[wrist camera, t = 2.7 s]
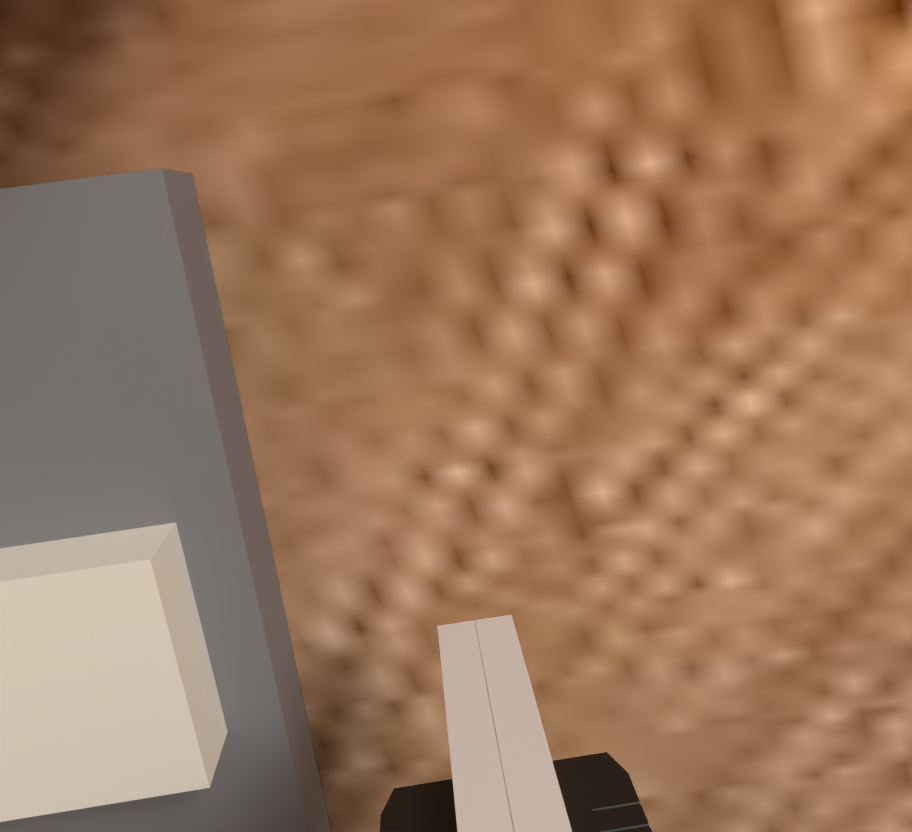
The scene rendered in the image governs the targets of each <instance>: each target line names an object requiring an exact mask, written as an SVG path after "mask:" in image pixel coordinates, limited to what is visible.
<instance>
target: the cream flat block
mask: <svg viewBox="0 0 912 832" xmlns="http://www.w3.org/2000/svg"><path fill="white" fill-rule="evenodd" d="M226 735H227V727H226V723H225V719H224V715H223V711H222V707H221V703H220V699H219V695H218V691H217V687H216V683H215V679H214V675H213V671H212V667H211V663H210V659H209V655H208V650H207V646H206V642H205V638H204V634H203V630H202V626H201V622H200V618H199V614H198V610H197V606H196V602H195V598H194V594H193V590H192V586H191V582H190V577H189V573H188V569H187V565H186V561H185V557H184V553H183V549H182V545H181V541H180V537H179V533H178V529H177V525H176V523H169V524H163V525H156V526H149V527H142V528H136V529H129V530H122V531H115V532H108V533H102V534H95V535H88V536H81V537H75V538H68V539H61V540H54V541H47V542H41V543H34V544H27V545H20V546H14V547H7V548H0V822H3V821H10V820H16V819H22V818H28V817H34V816H40V815H46V814H52V813H59V812H65V811H71V810H77V809H83V808H89V807H95V806H101V805H108V804H114V803H120V802H126V801H132V800H138V799H144V798H150V797H157V796H163V795H169V794H175V793H181V792H187V791H193V790H199V789H206V788H210V785H211V782H212V779H213V776H214V773H215V770H216V767H217V763H218V760H219V757H220V754H221V751H222V748H223V744H224V741H225V738H226Z"/></svg>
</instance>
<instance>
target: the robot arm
mask: <svg viewBox="0 0 912 832" xmlns="http://www.w3.org/2000/svg"><path fill="white" fill-rule="evenodd" d="M438 636H439V646H440V657H441V667H442V677H443V687H444V698H445V708H446V718H447V729H448V739H449V749H450V760H451V770H452V779H450V780H444V781H438V782H432V783H425V784H419V785H413V786H407V787H401V788H394V789H393V791H392V794H391V796H390V798H389V800H388V802H387V804H386V806H385V808H384V810H383V812H382V814H381V820H380V832H652V831H651V828H649V825H648V821H647V818H646V816H645V813H644V811H643V808H642V806H641V805H640V803H639V799H638V796H637V794H636V791H635V789H634V786H633V784H632V781H631V779H630V776H629V774H628V773H627V772H626V771H625V770H624V769H623V768H622V767H621V766H620V765H619V764H618V763H617V762H616V761H615V760H614V759H613V758H612V757H611V756H610V755H609V754H608V753H607V752H605V753H599V754H593V755H587V756H580V757H574V758H568V759H562V760H555V761H552V758H551V754H550V751H549V747H548V744H547V740H546V736H545V733H544V729H543V726H542V722H541V719H540V715H539V711H538V708H537V704H536V701H535V697H534V693H533V690H532V686H531V683H530V679H529V676H528V672H527V668H526V665H525V661H524V658H523V654H522V651H521V647H520V643H519V640H518V636H517V633H516V629H515V626H514V622H513V618H512V615H507V616H500V617H494V618H487V619H480V620H474V621H467V622H461V623H454V624H448V625H441V626H438Z"/></svg>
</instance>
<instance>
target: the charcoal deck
mask: <svg viewBox="0 0 912 832" xmlns="http://www.w3.org/2000/svg"><path fill="white" fill-rule="evenodd" d="M169 523H176V525H177V529H178V533H179V537H180V541H181V545H182V549H183V553H184V557H185V561H186V565H187V569H188V573H189V577H190V582H191V586H192V590H193V594H194V598H195V602H196V606H197V610H198V614H199V618H200V622H201V626H202V630H203V634H204V638H205V642H206V646H207V650H208V655H209V659H210V663H211V667H212V671H213V675H214V679H215V683H216V687H217V691H218V695H219V699H220V703H221V707H222V711H223V715H224V719H225V723H226V727H227V735H226V738H225V741H224V744H223V748H222V751H221V754H220V757H219V760H218V763H217V767H216V770H215V773H214V776H213V779H212V782H211V785H210V788H206V789H199V790H193V791H187V792H181V793H175V794H169V795H163V796H157V797H150V798H144V799H138V800H132V801H126V802H120V803H114V804H108V805H101V806H95V807H89V808H83V809H77V810H71V811H65V812H59V813H52V814H46V815H40V816H34V817H28V818H22V819H16V820H10V821H3V822H0V832H331V829H330V825H329V820H328V815H327V810H326V806H325V801H324V796H323V791H322V787H321V782H320V777H319V773H318V768H317V763H316V758H315V754H314V749H313V744H312V739H311V735H310V730H309V725H308V720H307V716H306V711H305V706H304V702H303V697H302V692H301V687H300V683H299V678H298V673H297V668H296V664H295V659H294V654H293V650H292V645H291V640H290V635H289V631H288V626H287V621H286V616H285V612H284V607H283V602H282V597H281V593H280V588H279V583H278V579H277V574H276V569H275V564H274V560H273V555H272V550H271V545H270V541H269V536H268V531H267V526H266V522H265V517H264V512H263V508H262V503H261V498H260V493H259V489H258V484H257V479H256V474H255V470H254V465H253V460H252V456H251V451H250V446H249V441H248V437H247V432H246V427H245V422H244V418H243V413H242V408H241V403H240V399H239V394H238V389H237V385H236V380H235V375H234V370H233V366H232V361H231V356H230V351H229V347H228V342H227V337H226V332H225V328H224V323H223V318H222V314H221V309H220V304H219V299H218V295H217V290H216V285H215V280H214V276H213V271H212V266H211V262H210V257H209V252H208V247H207V243H206V238H205V233H204V228H203V224H202V219H201V214H200V209H199V205H198V200H197V195H196V191H195V186H194V181H193V176H192V174H190V173H185V172H179V171H174V170H168V169H163V168H161V169H153V170H145V171H137V172H129V173H121V174H114V175H106V176H98V177H90V178H82V179H74V180H66V181H58V182H50V183H43V184H35V185H27V186H19V187H11V188H3V189H0V548H7V547H14V546H20V545H27V544H34V543H41V542H47V541H54V540H61V539H68V538H75V537H81V536H88V535H95V534H102V533H108V532H115V531H122V530H129V529H136V528H142V527H149V526H156V525H163V524H169Z"/></svg>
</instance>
